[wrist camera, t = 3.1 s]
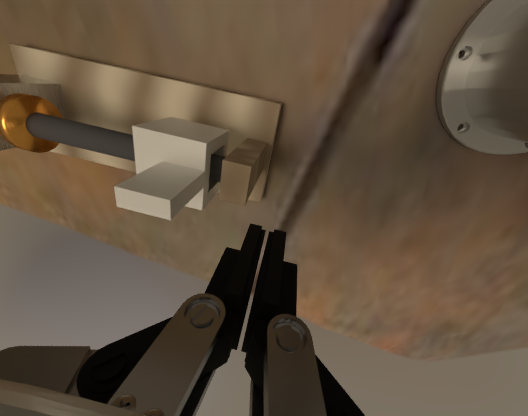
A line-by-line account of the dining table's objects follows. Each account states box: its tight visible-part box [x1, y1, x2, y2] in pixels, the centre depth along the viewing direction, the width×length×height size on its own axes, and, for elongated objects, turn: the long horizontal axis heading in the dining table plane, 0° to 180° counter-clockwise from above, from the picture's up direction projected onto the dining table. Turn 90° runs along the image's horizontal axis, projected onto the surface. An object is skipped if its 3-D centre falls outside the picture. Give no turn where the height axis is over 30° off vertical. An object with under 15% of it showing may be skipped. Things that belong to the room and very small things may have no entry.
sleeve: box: [114, 117, 229, 220], centre depth 16 cm, size 5×5×10 cm
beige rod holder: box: [9, 43, 282, 205], centre depth 20 cm, size 26×10×9 cm, turn 79°
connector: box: [0, 74, 68, 153], centre depth 20 cm, size 7×5×8 cm
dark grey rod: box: [25, 112, 225, 182], centre depth 18 cm, size 21×2×2 cm, turn 79°
